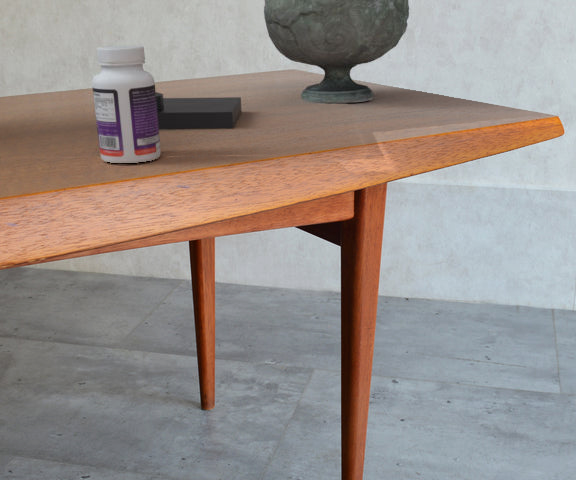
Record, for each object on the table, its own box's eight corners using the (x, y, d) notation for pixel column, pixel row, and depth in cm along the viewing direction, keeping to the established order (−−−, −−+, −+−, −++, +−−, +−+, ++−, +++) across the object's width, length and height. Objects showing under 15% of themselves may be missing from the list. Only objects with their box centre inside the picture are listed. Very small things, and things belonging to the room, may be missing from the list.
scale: (105, 131, 81) (101, 98, 79) (130, 114, 92) (127, 85, 91) (232, 130, 80) (231, 97, 79) (241, 112, 92) (240, 83, 90)
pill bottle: (159, 151, 70) (150, 43, 66) (162, 163, 65) (153, 47, 61) (101, 154, 69) (89, 45, 65) (99, 167, 64) (86, 49, 60)
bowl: (359, 87, 115) (361, -17, 109) (433, 101, 98) (440, -20, 93) (242, 95, 107) (238, -16, 101) (301, 113, 91) (300, -19, 85)
